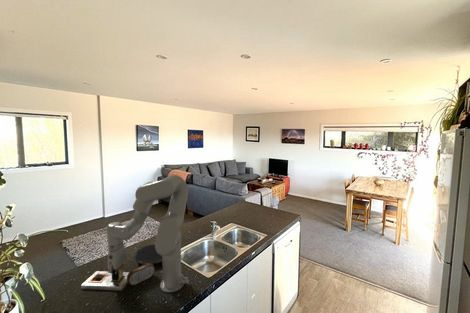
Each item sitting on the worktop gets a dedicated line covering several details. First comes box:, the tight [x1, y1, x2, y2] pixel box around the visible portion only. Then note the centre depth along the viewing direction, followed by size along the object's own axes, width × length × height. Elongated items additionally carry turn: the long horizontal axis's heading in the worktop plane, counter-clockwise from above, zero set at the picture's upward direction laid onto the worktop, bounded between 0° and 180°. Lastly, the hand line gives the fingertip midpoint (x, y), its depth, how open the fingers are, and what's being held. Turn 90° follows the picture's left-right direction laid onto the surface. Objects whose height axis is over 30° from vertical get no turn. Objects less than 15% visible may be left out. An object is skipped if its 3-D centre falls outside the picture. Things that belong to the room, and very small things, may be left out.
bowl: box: [133, 243, 163, 266], centre depth 145 cm, size 22×22×5 cm
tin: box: [127, 263, 156, 286], centre depth 123 cm, size 15×3×8 cm, turn 135°
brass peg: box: [112, 264, 124, 283], centre depth 122 cm, size 4×4×9 cm
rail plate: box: [80, 270, 130, 291], centre depth 123 cm, size 22×12×2 cm, turn 87°
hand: (117, 276), depth 122 cm, fingers closed on brass peg, 4 cm apart
